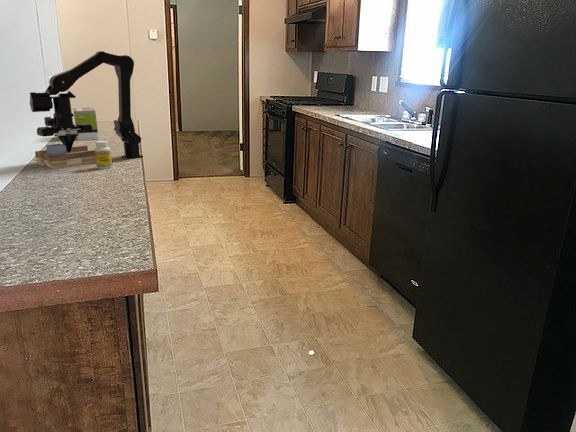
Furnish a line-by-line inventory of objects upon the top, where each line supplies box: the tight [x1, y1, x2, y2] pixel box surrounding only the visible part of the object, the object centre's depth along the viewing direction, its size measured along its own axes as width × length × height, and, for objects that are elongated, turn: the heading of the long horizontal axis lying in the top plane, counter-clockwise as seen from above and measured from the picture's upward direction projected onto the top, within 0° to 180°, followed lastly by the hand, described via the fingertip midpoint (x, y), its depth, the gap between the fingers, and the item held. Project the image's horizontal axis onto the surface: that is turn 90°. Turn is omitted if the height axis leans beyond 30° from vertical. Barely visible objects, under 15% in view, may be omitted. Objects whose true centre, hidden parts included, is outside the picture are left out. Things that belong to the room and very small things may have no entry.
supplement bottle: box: [94, 140, 113, 170], centre depth 172 cm, size 5×5×10 cm
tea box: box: [73, 107, 100, 141], centre depth 240 cm, size 15×10×15 cm, turn 25°
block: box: [45, 143, 67, 156], centre depth 175 cm, size 5×5×5 cm
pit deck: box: [34, 145, 96, 169], centre depth 182 cm, size 14×20×4 cm
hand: (68, 152), depth 178 cm, fingers closed
